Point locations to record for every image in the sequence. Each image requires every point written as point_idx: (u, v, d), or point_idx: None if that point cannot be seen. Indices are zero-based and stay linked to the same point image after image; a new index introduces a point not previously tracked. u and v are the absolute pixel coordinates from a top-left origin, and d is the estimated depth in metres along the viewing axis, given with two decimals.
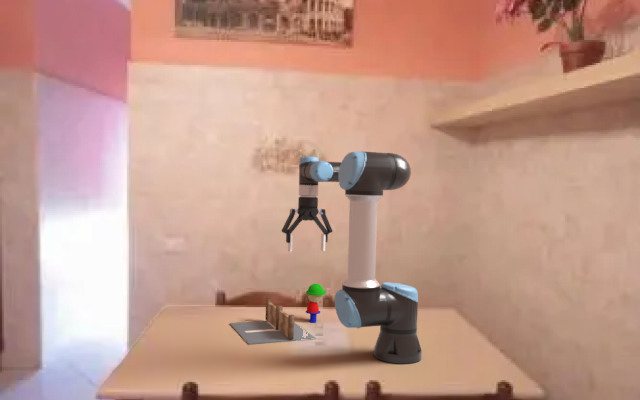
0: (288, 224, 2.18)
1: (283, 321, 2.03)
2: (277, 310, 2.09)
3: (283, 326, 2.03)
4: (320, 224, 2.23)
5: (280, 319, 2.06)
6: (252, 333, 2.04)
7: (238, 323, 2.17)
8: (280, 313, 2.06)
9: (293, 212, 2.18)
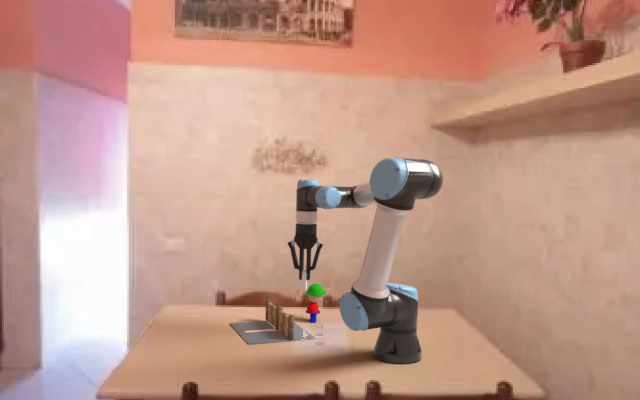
0: (294, 259, 2.03)
1: (283, 321, 2.03)
2: (277, 310, 2.09)
3: (283, 326, 2.03)
4: (308, 257, 2.02)
5: (280, 319, 2.06)
6: (252, 333, 2.04)
7: (238, 323, 2.17)
8: (280, 313, 2.06)
9: (290, 245, 2.03)
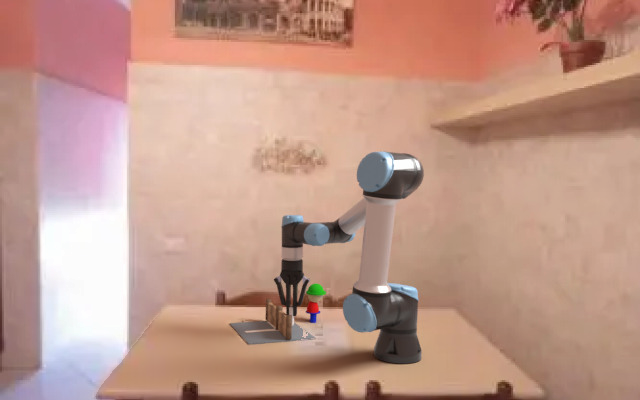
0: (280, 295, 2.02)
1: (282, 321, 2.03)
2: (277, 310, 2.09)
3: (282, 326, 2.03)
4: (294, 293, 2.01)
5: (279, 319, 2.06)
6: (252, 333, 2.04)
7: (238, 323, 2.17)
8: (279, 313, 2.06)
9: (276, 281, 2.02)
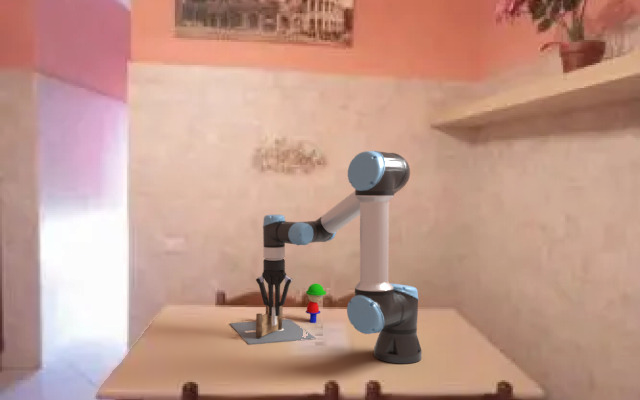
0: (263, 295, 2.01)
1: None
2: None
3: None
4: (276, 293, 2.00)
5: None
6: (252, 333, 2.04)
7: (238, 323, 2.17)
8: None
9: (258, 281, 2.01)
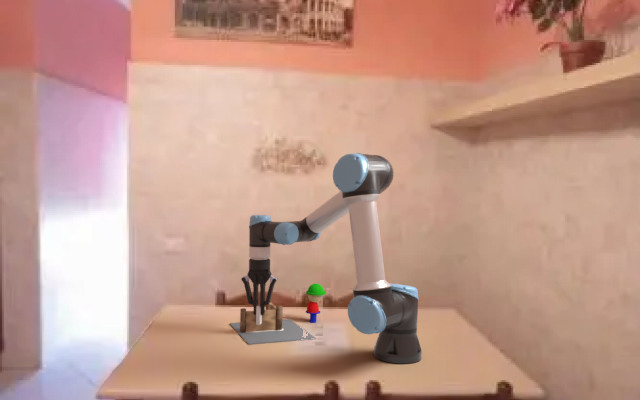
0: (248, 294, 2.04)
1: None
2: (277, 310, 2.09)
3: None
4: (261, 292, 2.03)
5: None
6: (252, 333, 2.04)
7: (238, 323, 2.17)
8: None
9: (244, 281, 2.04)
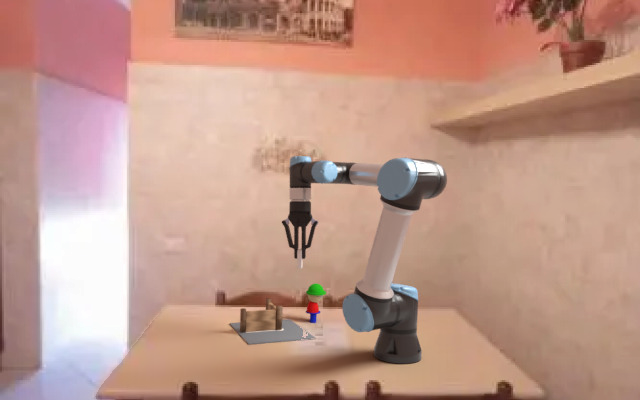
0: (288, 237, 1.99)
1: None
2: (277, 310, 2.09)
3: None
4: (303, 235, 1.98)
5: None
6: (252, 333, 2.04)
7: (238, 323, 2.17)
8: None
9: (284, 224, 1.99)
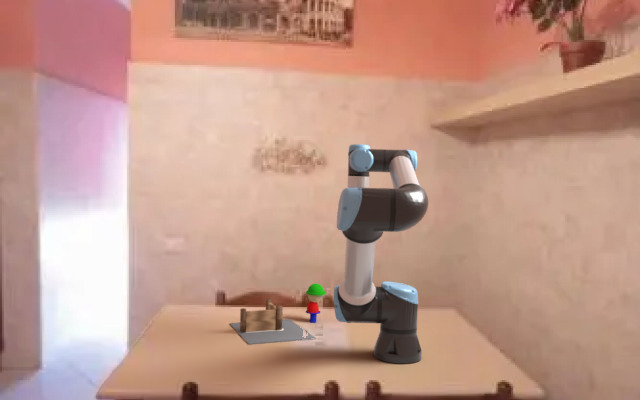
0: None
1: None
2: (277, 310, 2.09)
3: None
4: None
5: None
6: (252, 333, 2.04)
7: (238, 323, 2.17)
8: None
9: None
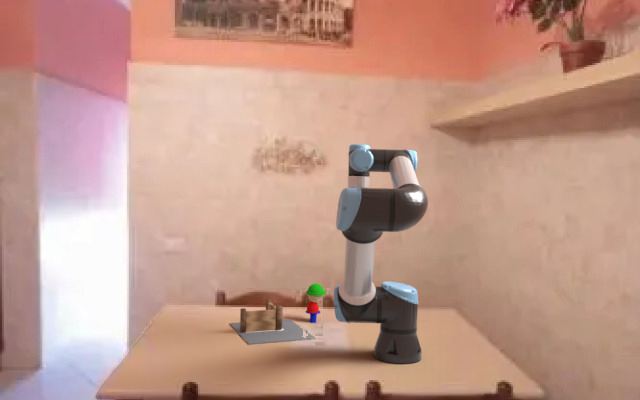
0: None
1: None
2: (277, 310, 2.09)
3: None
4: None
5: None
6: (252, 333, 2.04)
7: (238, 323, 2.17)
8: None
9: None
